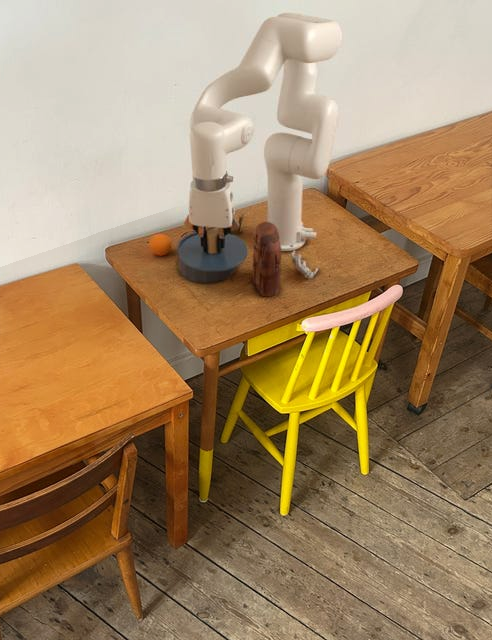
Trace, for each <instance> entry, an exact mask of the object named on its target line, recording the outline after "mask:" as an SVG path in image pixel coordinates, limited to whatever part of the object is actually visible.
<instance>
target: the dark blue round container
mask: <svg viewBox="0 0 492 640" xmlns="http://www.w3.org/2000/svg"><path fill="white" fill-rule="evenodd" d="M208 230H209V229H206V231H208ZM195 235H198V233H197V232H196V231H193V232H191V233H187V234H186V235H184V236H183V237H182V238H180V239H179V241H178V243H177V246H176V253H177V255H176V256H177V265H178V269H179V273H180V274H181V275H182V276H183V277H184V278H185V279H187V280H189V281H191V282H194V283H200V284H212V283H218V282H221V281H223V280H226V279H227V278H230V277H231V276H232V275H233V274H234V273H235V271H236V269H237V266H236V267H234V268H232V269H229V270H225V271H220V272H203V271H198V270H195V269H192V268H190V267H188V266H187V265H185V264H184V263H183V262H182V261H181V259H180V257H179V249H180V246H181V245H182V244H183V242H185V241H186V240H187V239H189V238H190V237H192V236H195Z"/></svg>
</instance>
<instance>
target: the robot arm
mask: <svg viewBox="0 0 492 640" xmlns="http://www.w3.org/2000/svg"><path fill="white" fill-rule="evenodd" d="M342 41H343V32H342V28H341V26H340V24H339V23H338V22H336V21H335V20H332V19H328V18H322V17H317V16H311V15H307V14H302V13H296V12H282V13H279V14H278V15H276V16H271V17H268V18H267V19H265V20H264V21H263V22H262V23H261V25H260V26H259V28H258V30H257V32H256V34H255V36H254V38H253V40H251V43H250V45H249V47H248V48H247V51H246V53H245V54H244V56H243V57H242V59H241V61H240V63H239V65H238V66H236V67H235V68H232V69H231V70H229V71H227V72H226V73H224V74H223V75H220V76H219V77H218V78H216V79H215V80H213V81H212V82H211V83H210V84H208V85H207V87H206V88H205V89H204V90H203V91H202V94H200V97H199V99H198V101H197V102H196V104H195V106H194V108H193V110H192V113H191V117H190V119H189V129H190V131H189V142H190V157H191V158H190V159H191V174H192V175H191V176H192V180H191V182H190V186H189V191H188V192H189V193H188V213H187V216H186V217H185V220H184V222H183V224H184V225H185V226H187V227H189V228H191V229H192V230H193V232H197V233H198V235H199V237H200V240H201V247H203V252H206V251H207V235H206V232H207V231H206V230H207V228H214V227H218V233H219V235H218V238H217V251H218V253H221V251H222V248H224V247H225V236H226V235H227V234H231V232H235V231H236V230H237V229H239V226H240V224H239V220H238V219H237V217H236V215H235V214H236V213H235V202H234V195H233V189H232V184H231V183H233V182H234V176H233V175H229V173H228V171H227V155H228V154H231V153H233V152H236V151H239V150H241V149H243V148H244V147H246V146H247V145H248V144H249V143H250V142H251V140H252V139H253V136H254V132H255V126H254V123H253V121H252V119H250V117H248V116H247V115H244V114H242V113H238V112H234V111H230V110H228V109H223V108H222V107H224V105H225V104H227V103H228V102H231V101H234V100H236V99H239V98H244V97H249V96H253V95H258V94H262V93H264V92H267V91H269V90H270V89H271V87H272V86H273V85H274V82H275V80H276V78H277V76H278V74H279V73H280V71H281V70H282V68H283V72H282V73H283V74H282V80H281V84H280V91H279V96H278V103H277V110H276V120H277V122H278V123H279V124H280V126H283V127H285V128H288V129H291V130H295V131H299V132H302V133H307V134H311V136H312V138H308V137H305V136H304V137H303V136H301V135H297V134H293V133H288V132H275V133H272V134H271V135H269V137H268V138H267V139H266V141H265V142H264V146H263V158H264V164H265V167H266V168H265V169H266V177H267V216H266V217H267V219H266V220H267V221H266V222H270V223H272V224H274V225H275V226H276V228H277V230H278V232H279V241H280V245H281V252H291V251H294V250H295V251H296V250H298V249H300V248H302V247H303V246H304V245H305V244H306V240H307V239H310V240H316V239H317V232H316V231H314V227H305V226H304V221H302V211H303V210H302V209H303V191H304V186H303V185H304V184H303V180H302V179H303V178H307V179H311V180H319V179H321V178H323V177H324V176H325V174H326V173H327V171H328V168H329V166H330V163H331V157H332V153H333V147H334V143H335V138H336V134H337V128H338V122H339V114H340V113H339V106H338V103H337V102H336V101H335V100H334V99H333V98H332V97H329V96H326V95H321V94H317V93H316V91H315V90H316V85H317V79H318V67H317V63H319V62H324V61H328V60H330V59H332V58H334V57H335V56H336V55H337V54H338V52H339V50H340V48H341V46H342ZM302 177H303V178H302ZM237 231H238V230H237Z"/></svg>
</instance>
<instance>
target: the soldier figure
mask: <svg viewBox="0 0 492 640" xmlns="http://www.w3.org/2000/svg"><path fill="white" fill-rule="evenodd" d="M295 254H296V249H295V250H292V252H291V254H289V258H292V259H293V260H294V263H295V267H296V271H297V272H298V273H300V274H303V276H304V277H305V278H306V279H308V280H309V282H311V281H312V280H314V276H315V275H316V274H317V272H318V271H319V268H318V267H315V270H313V271H311V269H310V268H309V267H308V266H307V263H306V261H305V260H302V257H303V256H302V254H301V253H298V254H297V255H295Z"/></svg>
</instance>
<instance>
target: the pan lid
mask: <svg viewBox="0 0 492 640" xmlns="http://www.w3.org/2000/svg"><path fill="white" fill-rule="evenodd" d="M211 229H212V228H211ZM211 229H207V230H208V231H207V232H206V235H207V251H206V252H203V247H201V240H200V237H199V235H195V236H192V237H190V238H189V239H187V240H186V241H185V242H183V244H182V245H181V246H180V249H179V257H180V259H181V261H182V262H183V263H184V264H185V265H187V266H188V267H190V268H192V269H195V270H198V271H203V272H220V271H225V270H229V269H232V268H234V267H236V268H237V267H238V266H240V265H241V264H242V263H244V261H245V260H246V258H247V256H248V252H249V251H248V246H247V244H246V243H245V241H243V239H242V238H240V237H238V236H237V235H234V234H231V233H229V234H227V235H226V236H225V247H224V248H222V251H221V253H218V251H217V238H218V235H219V233H218V231H217V230H213V229H212V230H211Z"/></svg>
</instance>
